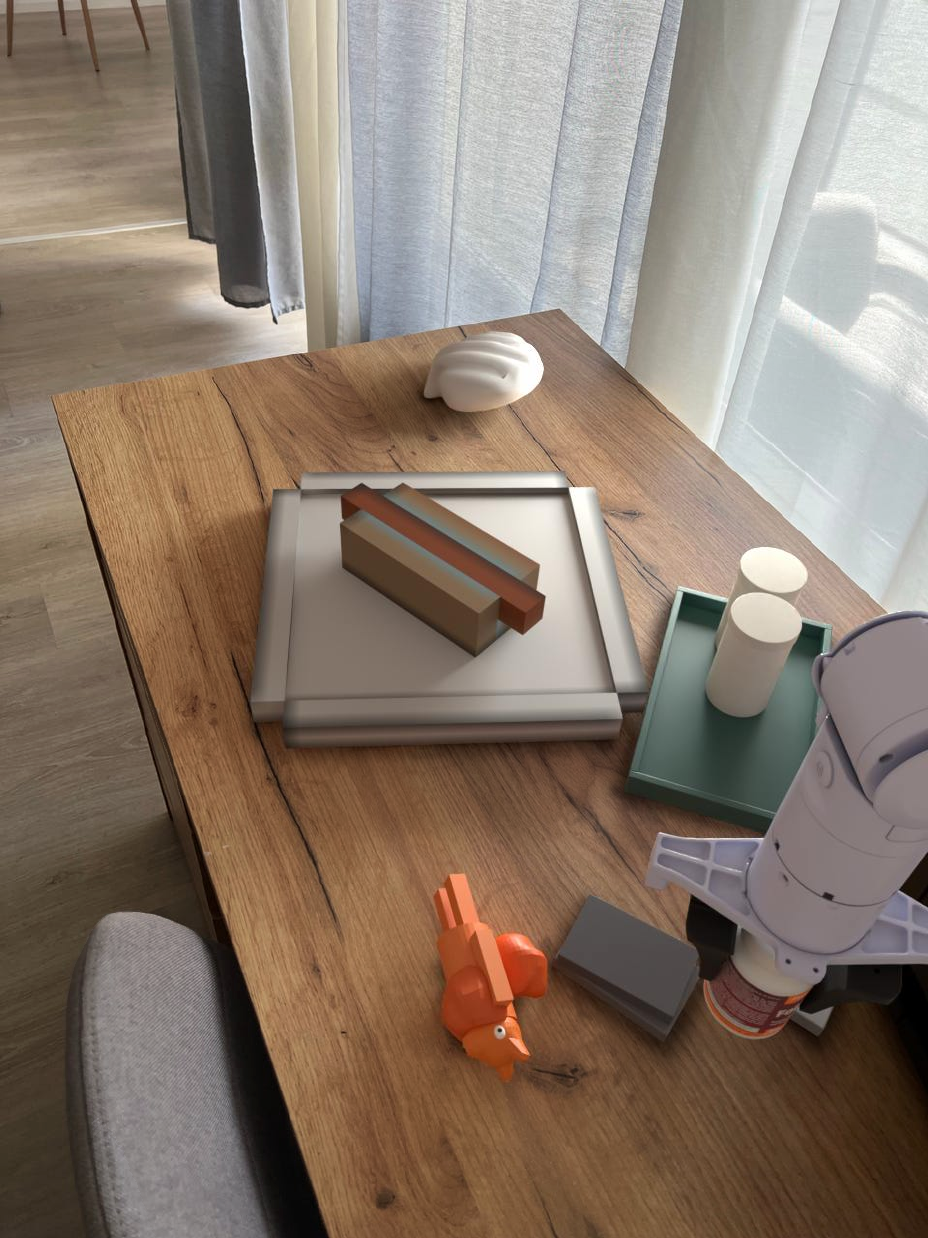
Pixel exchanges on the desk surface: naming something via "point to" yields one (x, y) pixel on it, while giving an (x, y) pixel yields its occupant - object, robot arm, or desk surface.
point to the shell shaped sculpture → (484, 372)
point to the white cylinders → (756, 631)
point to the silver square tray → (442, 612)
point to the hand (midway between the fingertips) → (755, 978)
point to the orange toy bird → (484, 979)
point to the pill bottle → (753, 990)
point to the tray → (723, 724)
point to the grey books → (639, 968)
